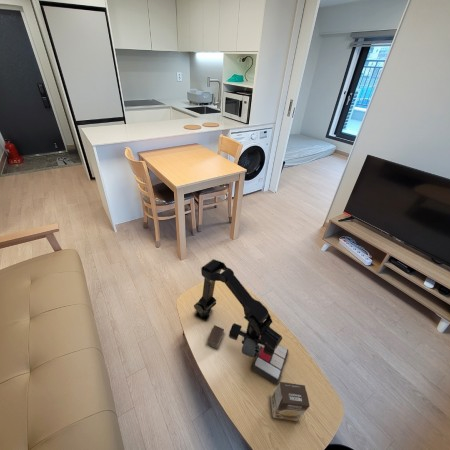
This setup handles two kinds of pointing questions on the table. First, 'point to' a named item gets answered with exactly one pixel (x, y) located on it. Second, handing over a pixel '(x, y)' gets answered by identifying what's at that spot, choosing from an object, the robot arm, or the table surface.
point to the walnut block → (215, 337)
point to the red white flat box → (271, 364)
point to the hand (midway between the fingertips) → (249, 348)
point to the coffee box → (289, 401)
